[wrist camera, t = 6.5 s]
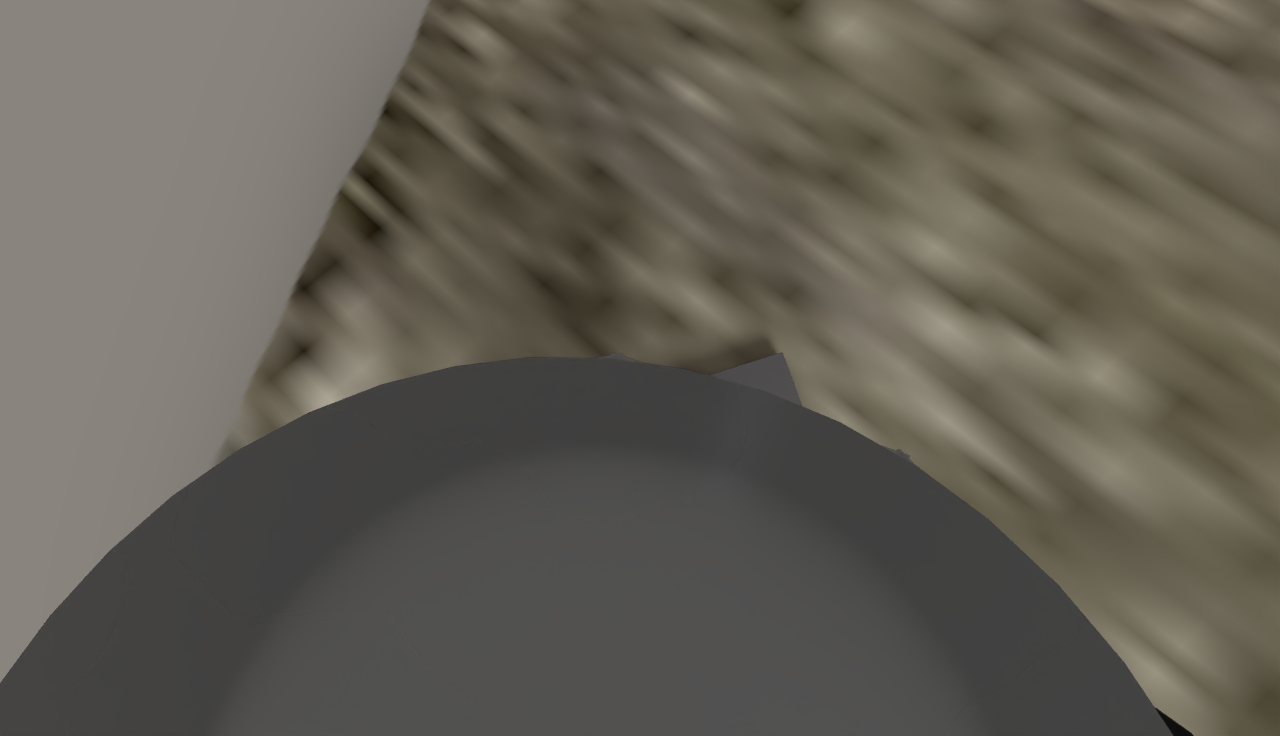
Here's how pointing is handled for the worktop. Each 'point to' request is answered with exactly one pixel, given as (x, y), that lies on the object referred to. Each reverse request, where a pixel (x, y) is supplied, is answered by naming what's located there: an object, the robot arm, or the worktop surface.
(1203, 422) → the worktop surface
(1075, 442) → the worktop surface
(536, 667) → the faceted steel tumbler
